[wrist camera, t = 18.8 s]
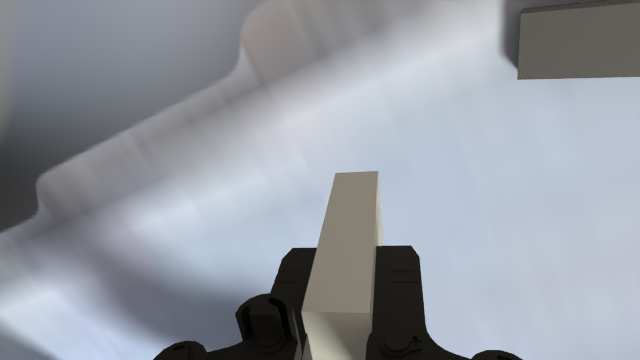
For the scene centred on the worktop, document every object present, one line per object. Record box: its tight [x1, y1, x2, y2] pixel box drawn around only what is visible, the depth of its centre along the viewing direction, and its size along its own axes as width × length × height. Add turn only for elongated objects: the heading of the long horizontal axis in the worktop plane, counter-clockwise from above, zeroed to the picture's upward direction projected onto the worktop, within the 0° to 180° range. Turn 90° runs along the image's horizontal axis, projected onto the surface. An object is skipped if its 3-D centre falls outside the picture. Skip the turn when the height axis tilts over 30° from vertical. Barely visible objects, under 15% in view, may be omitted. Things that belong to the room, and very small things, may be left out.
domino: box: [517, 0, 640, 80], centre depth 31 cm, size 2×5×10 cm
